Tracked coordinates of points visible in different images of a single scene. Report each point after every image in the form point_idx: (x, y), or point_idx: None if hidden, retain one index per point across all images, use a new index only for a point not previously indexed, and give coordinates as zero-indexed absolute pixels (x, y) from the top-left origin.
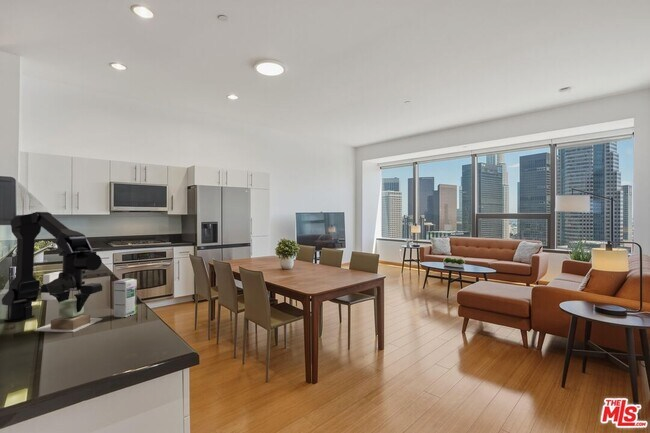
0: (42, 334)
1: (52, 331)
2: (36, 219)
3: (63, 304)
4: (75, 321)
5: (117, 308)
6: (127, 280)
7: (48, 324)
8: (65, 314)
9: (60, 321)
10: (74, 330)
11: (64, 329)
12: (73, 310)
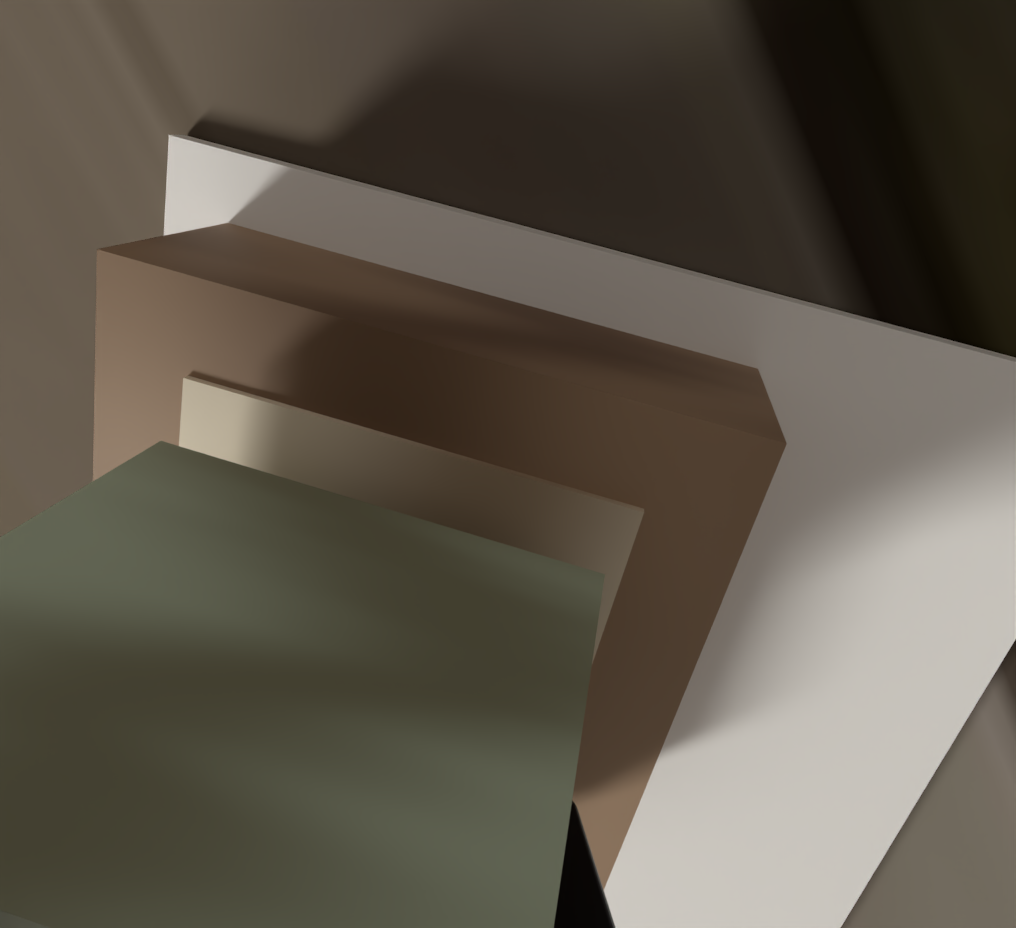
0: (814, 72)
1: (671, 266)
2: None
3: (293, 874)
4: (110, 319)
5: None
6: None
7: (956, 721)
8: (362, 539)
9: (483, 355)
10: (175, 176)
11: (421, 275)
12: (6, 551)
